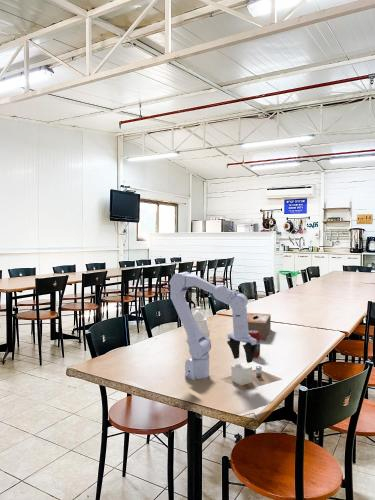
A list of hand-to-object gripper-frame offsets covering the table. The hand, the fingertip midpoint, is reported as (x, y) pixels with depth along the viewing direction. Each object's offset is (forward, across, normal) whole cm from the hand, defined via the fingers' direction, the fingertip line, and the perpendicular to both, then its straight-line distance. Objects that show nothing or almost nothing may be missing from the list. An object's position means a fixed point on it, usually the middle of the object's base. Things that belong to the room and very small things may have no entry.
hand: (243, 360), depth 151 cm
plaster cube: (+8, 0, +1) cm, 8 cm away
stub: (+9, 0, -8) cm, 12 cm away
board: (+10, 0, -4) cm, 11 cm away
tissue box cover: (+9, +55, -58) cm, 81 cm away
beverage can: (+10, +25, -28) cm, 39 cm away
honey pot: (+7, +64, -23) cm, 69 cm away
